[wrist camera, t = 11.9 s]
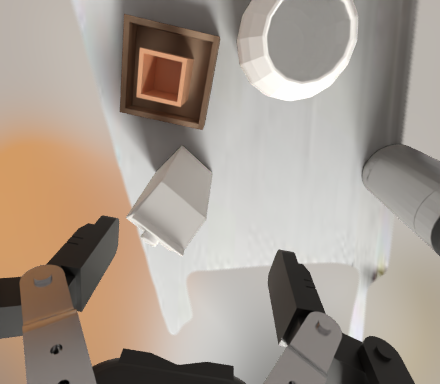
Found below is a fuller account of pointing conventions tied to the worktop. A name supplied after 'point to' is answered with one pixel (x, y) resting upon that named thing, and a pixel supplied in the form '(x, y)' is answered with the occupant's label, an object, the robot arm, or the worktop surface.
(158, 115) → the walnut crate
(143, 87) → the terracotta crate
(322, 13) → the white round vase
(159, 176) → the milk carton
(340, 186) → the worktop surface
